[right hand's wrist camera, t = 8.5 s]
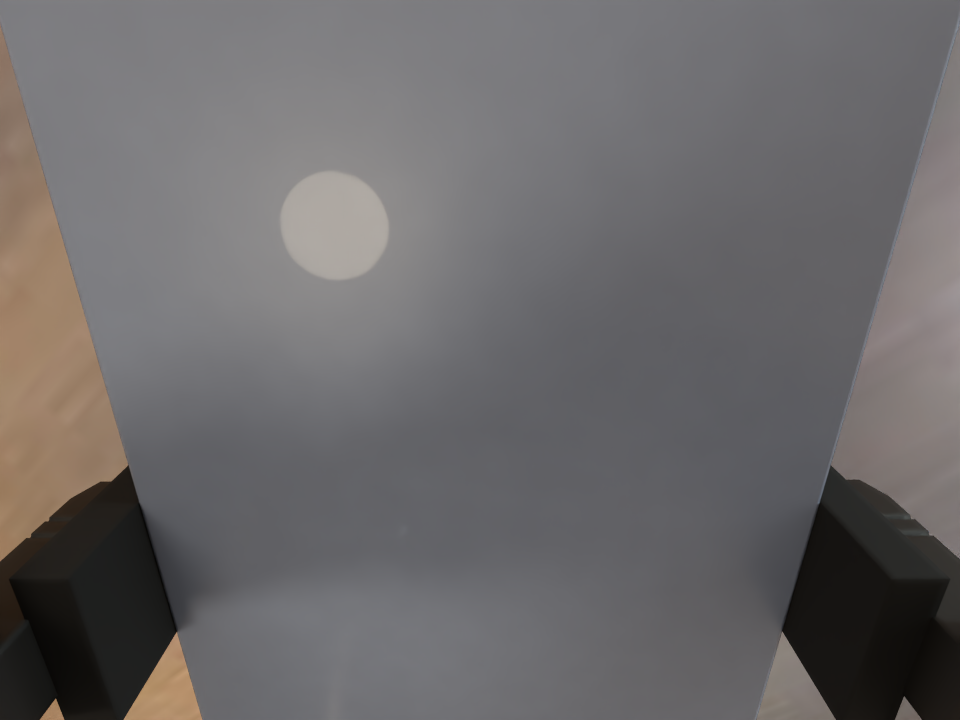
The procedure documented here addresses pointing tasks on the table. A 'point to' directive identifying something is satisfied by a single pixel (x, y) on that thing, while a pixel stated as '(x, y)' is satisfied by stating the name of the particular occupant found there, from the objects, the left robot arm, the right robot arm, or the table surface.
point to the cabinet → (479, 327)
